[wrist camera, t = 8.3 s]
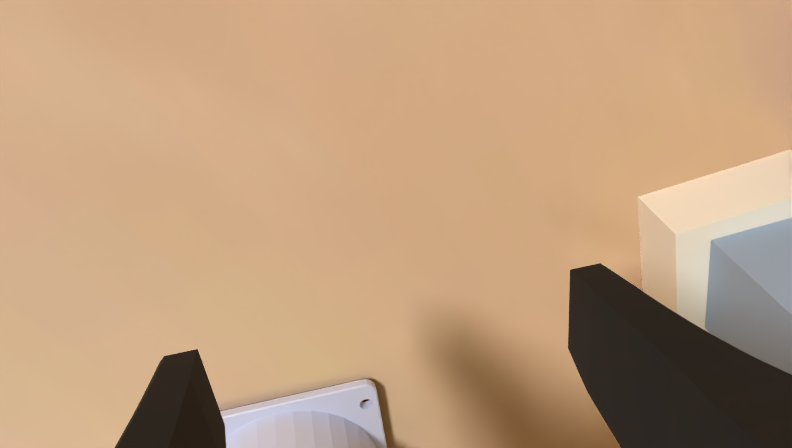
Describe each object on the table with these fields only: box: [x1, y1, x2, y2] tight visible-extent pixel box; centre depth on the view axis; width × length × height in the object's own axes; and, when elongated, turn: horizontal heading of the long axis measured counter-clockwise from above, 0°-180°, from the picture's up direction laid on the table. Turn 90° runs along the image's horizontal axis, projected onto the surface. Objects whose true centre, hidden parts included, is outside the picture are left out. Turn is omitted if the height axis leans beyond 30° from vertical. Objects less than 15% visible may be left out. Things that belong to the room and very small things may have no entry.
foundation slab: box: [638, 150, 792, 332], centre depth 27 cm, size 6×6×3 cm
